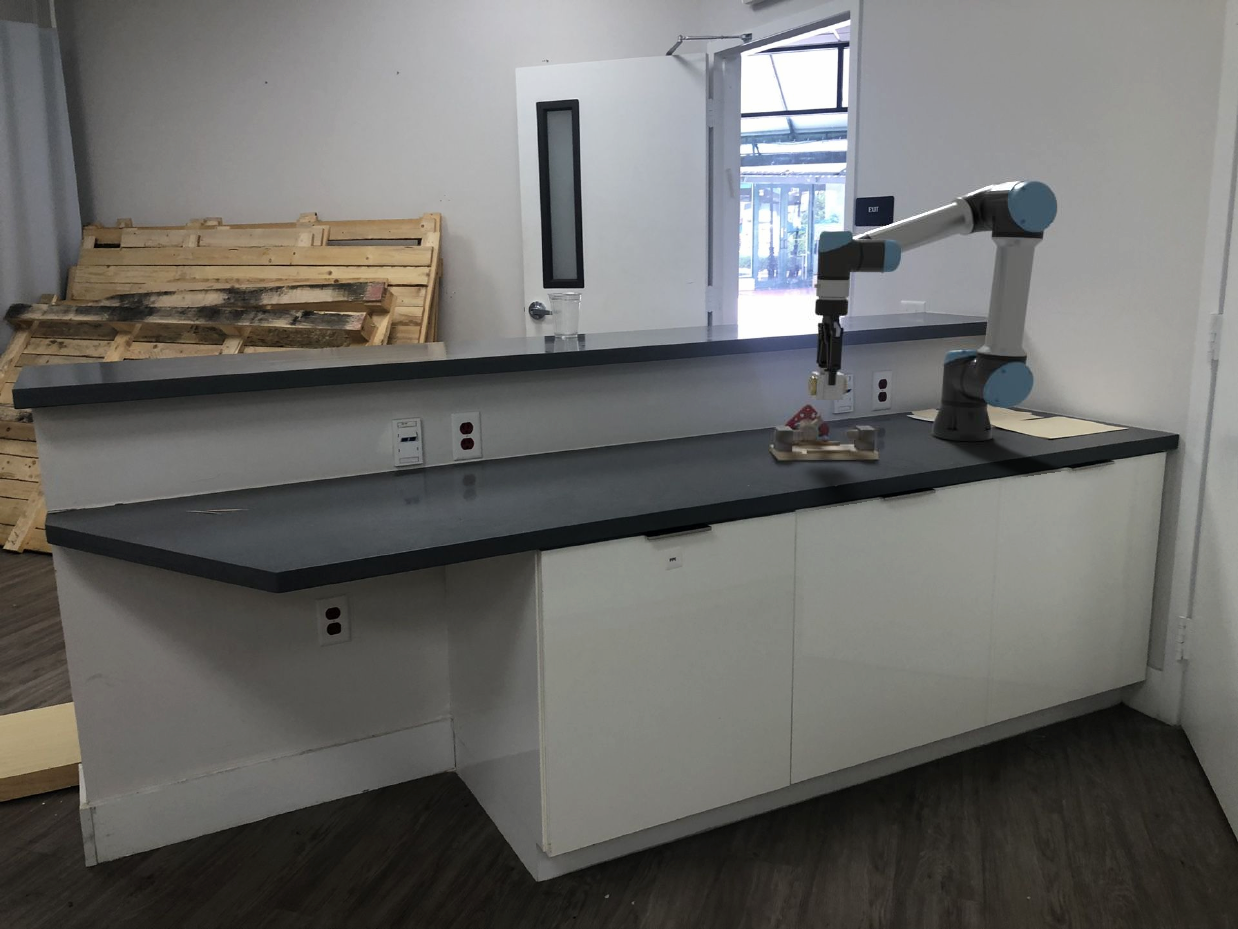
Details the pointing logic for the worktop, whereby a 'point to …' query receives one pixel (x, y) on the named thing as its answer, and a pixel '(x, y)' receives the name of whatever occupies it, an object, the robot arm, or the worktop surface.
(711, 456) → the worktop surface
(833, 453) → the shaft bench
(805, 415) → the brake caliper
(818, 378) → the coupler
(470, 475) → the worktop surface
